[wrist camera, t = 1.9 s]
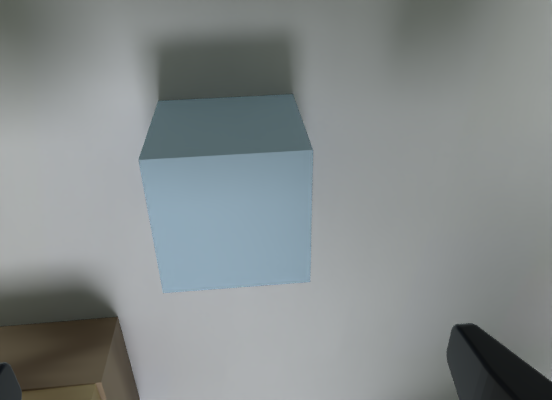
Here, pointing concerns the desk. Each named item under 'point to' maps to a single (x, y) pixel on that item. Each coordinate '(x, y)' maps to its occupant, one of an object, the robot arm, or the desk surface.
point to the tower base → (70, 356)
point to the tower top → (64, 393)
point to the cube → (229, 192)
